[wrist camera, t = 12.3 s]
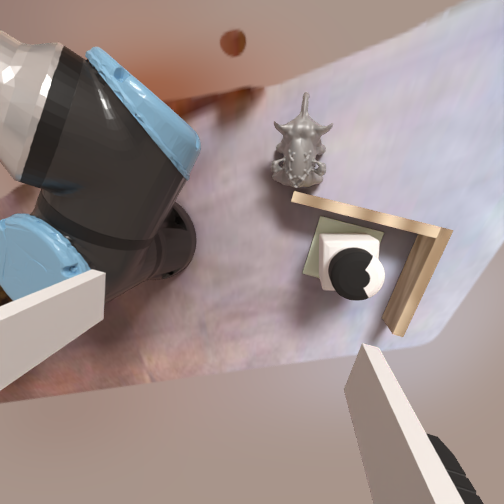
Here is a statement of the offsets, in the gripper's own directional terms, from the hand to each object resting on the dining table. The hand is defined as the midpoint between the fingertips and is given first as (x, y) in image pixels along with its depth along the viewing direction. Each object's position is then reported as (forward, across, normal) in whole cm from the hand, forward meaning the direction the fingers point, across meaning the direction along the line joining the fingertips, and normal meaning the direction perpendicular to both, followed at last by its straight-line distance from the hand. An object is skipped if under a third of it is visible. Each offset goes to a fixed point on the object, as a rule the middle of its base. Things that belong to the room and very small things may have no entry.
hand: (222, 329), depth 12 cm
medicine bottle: (+30, +12, -1) cm, 32 cm away
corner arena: (+30, +12, -2) cm, 32 cm away
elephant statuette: (+31, +1, +13) cm, 34 cm away
